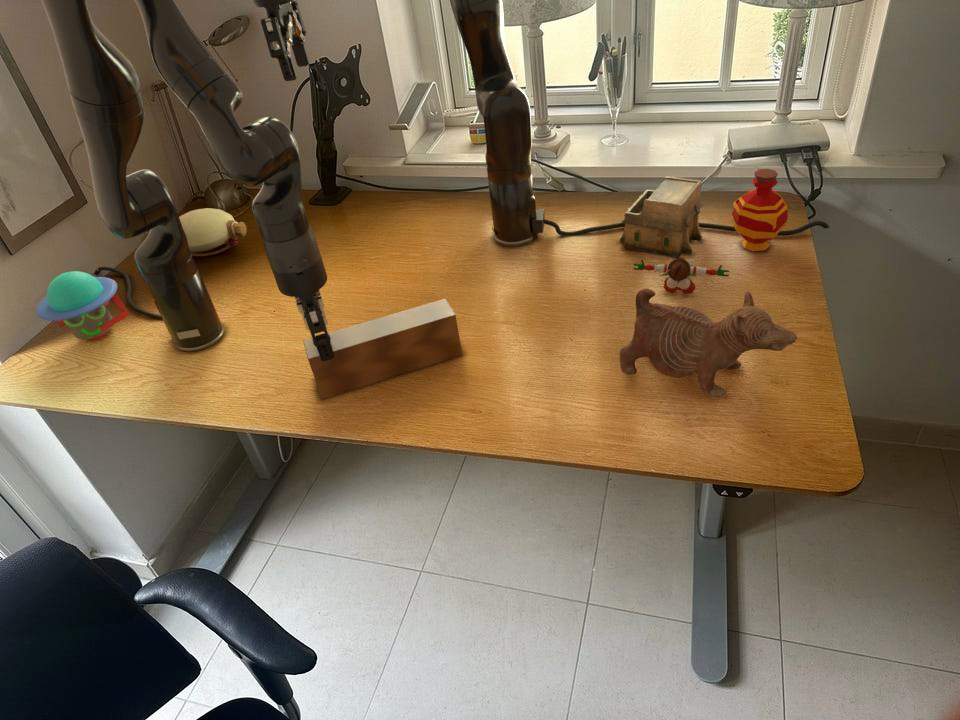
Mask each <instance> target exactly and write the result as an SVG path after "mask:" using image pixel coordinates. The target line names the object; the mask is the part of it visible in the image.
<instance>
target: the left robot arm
mask: <svg viewBox="0 0 960 720" xmlns="http://www.w3.org/2000/svg"><path fill="white" fill-rule="evenodd" d="M40 1H41V3H42V6H43V9H44V11H45V14H46V17H47V19H48V22H49V25H50V28H51V31H52V33H53V37H54V40H55V44H56V47H57V50H58V54H59V57H60V61H61V64H62V68H63V73H64V77H65V81H66V85H67V89H68V92H69V96H70V100H71V103H72V107H73V110H74V113H75V116H76V119H77V122H78V125H79V129H80V133H81V135H82V139H83V143H84V146H85V149H86V150H85V151H86V154H87V159H88V164H89V170H90V177H91V183H92V189H93V194H94V199H95V203H96V207H97V210H98V212H99V215H100V217H101V219H102V221H103V223H104V224H105V226H106V227H107V229H108V230H109V231H110V232H111V233H112V234H113V235H114V236H116V237H118V238H121V239H126V240H127V239H132V238H136V237H138V236H140V235H142V234H144V233H146V232H148V234H147V236H146V237H145V239H144V240H143V241H142V242H141V244H140V245H139V246H138V247H137V248H136V250H135V252H134V255H133V257H134V258H133V259H134V262H135V265H136V266H137V268H138V270H139V272H140V274H141V277H142V278H143V280H144V282H145V285H146V286H147V288H148V291H149V293H150V294H151V297H152V298H153V302H154V304H155V307H156V308H157V311H158V312H159V314H155V313H151V312H149V311H146V310H144V309H142V308H139V307H138V306H136V304H135V303H134V302H133V300H132V294H133V293H132V292H133V285H132V281H131V279H130V276H129V274H128V273H127V272H126V271H123V270H121V269H118V268H115V267H110V266H98V267H97V268H98V270H99V271H97V270H96V269H95V270H94V274H95V275H97V274H99V273H100V272H101V271H108V272H112V273H115V274H119V275H121V276H122V277H124V279H125V283H126V288H127V289H126V301H127V304H128V306H130V308H131V309H132V310H133V311H135V312H136V313H138V314H141V315H142V316H145V317H148V318H151V319H154V320H159V321H160V320H161V321H163V323H164V325H165V327H166V329H167V331H168V333H169V335H170V337H171V339H172V341H173V342H174V345H175V347H176V349H178V350H179V351H182V352H186V353H187V352H188V353H192V352H198V351H202V350H205V349H208V348H209V347H211V346H213V345H215V344H216V343H217V342H219V341H220V340H221V339H222V338H223V336H224V334H225V327H224V325H223V323H222V322H221V319H220V316H219V315H218V312H217V309H216V307H215V305H214V302H213V301H212V297H211V296H210V293H209V291H208V288H207V287H206V283H205V281H204V279H203V277H202V275H201V272H200V269H199V268H198V265H197V264H196V263H197V262H196V261H195V259H194V256H192V254H191V251H190V249H189V246H188V240H187V237H186V234H185V231H184V229H183V226H182V224H181V221H180V218H179V217H180V215H179V213H178V209H177V207H176V204H175V201H174V199H173V197H172V195H171V192H170V189H169V188H168V187H167V185H166V184H165V182H164V180H163V179H162V178H161V177H160V176H159V175H158V174H157V173H155V172H154V171H152V170H150V169H140V170H137V171H135V172H132V173H130V174H128V167H129V163H130V161H131V158H132V156H133V153H134V152H135V151H134V150H135V149H136V146H137V144H138V141H139V139H140V136H141V133H142V130H143V128H144V122H145V105H144V101H143V96H142V90H141V85H140V80H139V77H138V74H137V71H136V70H135V68H134V66H133V64H132V63H131V61H130V60H129V59H128V58H127V57H126V55H124V54H123V52H121V50H119V48H118V47H116V46H115V45H114V43H112V42H111V41H110V40H109V39H108V38H107V37H106V36H105V35H104V34H103V33H102V32H101V31H100V30H99V29H98V27H97V25H96V24H95V23H94V20H93V17H92V15H91V13H90V10H89V6H88V3H87V0H40ZM133 1H134V3H135V4H136V7H137V8H138V9H137V10H138V11H139V13H140V16H141V20H142V23H143V27H144V30H145V36H146V39H147V45H148V48H149V51H150V55H151V58H152V61H153V63H154V66H155V67H156V69H157V72H158V74H159V75H160V76H161V78H162V80H163V81H164V82H165V84H166V85H167V86H168V87H169V89H170V90H171V91H172V92H173V93H174V94H175V96H176V97H177V98H178V99H179V100H180V102H181V103H183V105H184V106H185V107H186V108H187V109H188V111H189V112H190V113H191V114H192V115H193V116H194V118H195V119H196V121H197V123H198V124H199V126H200V128H201V131H202V133H203V134H204V135H205V138H206V140H207V142H208V143H209V145H210V148H211V149H212V151H213V153H214V156H215V157H216V159H217V161H218V163H219V164H220V165H219V166H220V167H221V168H222V169H223V171H224V172H225V173H226V174H227V175H228V176H229V177H230V178H231V179H232V180H234V181H235V182H237V183H239V184H241V185H243V186H246V187H256V186H259V185H261V184H262V185H261V188H260V190H259V191H258V193H257V194H256V195H255V197H254V198H253V200H252V203H251V209H252V212H253V216H254V219H255V221H256V225H257V227H258V230H259V234H260V236H261V239H262V242H263V247H264V252H265V255H266V258H267V261H268V263H269V267H270V269H271V271H272V272H271V273H272V274H273V277H274V280H275V283H276V286H277V288H278V291H279V292H280V293H281V294H282V295H284V296H286V297H289V298H294V300H295V303H296V307H297V310H298V312H299V314H301V317H302V321H303V324H304V326H305V329H306V330H307V331H309V332H310V335H311V338H312V340H313V344H314V345H315V347H317V350H318V353H319V355H320V358H321V361H327V360H331V359H333V358H334V357H335V355H334V352H333V349H332V346H331V343H330V342H331V341H330V340H331V338H330V335H329V334H328V333H329V332H328V328H327V325H328V323H329V321H328V318H327V315H326V312H325V308H324V306H325V304H324V300H323V297H322V295H321V291H320V290H321V289H322V288H323V287H324V286H325V285H326V283H327V281H328V274H327V271H326V267H325V264H324V261H323V258H322V254H321V250H320V248H319V245H318V241H317V239H316V235H315V233H314V232H313V230H312V228H311V224H310V221H309V218H308V215H307V211H306V208H305V205H304V202H303V197H302V189H303V188H302V169H301V155H300V149H299V145H298V142H297V140H296V137H295V135H294V133H293V132H292V131H291V129H290V128H289V126H288V125H287V124H286V123H284V122H283V120H280V119H279V118H277V117H274V116H263V117H260V118H257V119H256V120H254V121H252V122H250V123H249V124H247V125H245V126H244V127H241V126H240V124H239V122H238V120H237V118H236V116H235V112H236V111H237V110H238V109H239V108H240V106H241V105H242V102H243V101H244V94H243V91H242V89H241V88H240V86H239V85H238V83H237V82H236V81H235V80H234V78H233V77H232V76H231V74H229V72H228V71H227V69H225V67H224V66H223V65H222V64H221V62H220V61H219V60H218V59H217V58H216V56H215V55H214V54H213V53H212V52H211V51H210V49H209V48H208V47H207V46H206V45H205V43H204V42H203V41H202V40H201V38H200V37H199V35H198V34H197V33H196V31H195V30H194V29H193V27H192V26H191V24H190V23H189V22H188V20H187V19H186V17H185V16H184V14H183V13H182V11H181V9H180V8H179V6H178V5H177V4H176V1H175V0H133ZM127 174H128V175H127ZM322 332H324V333H322ZM319 333H320V334H319Z"/></svg>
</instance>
